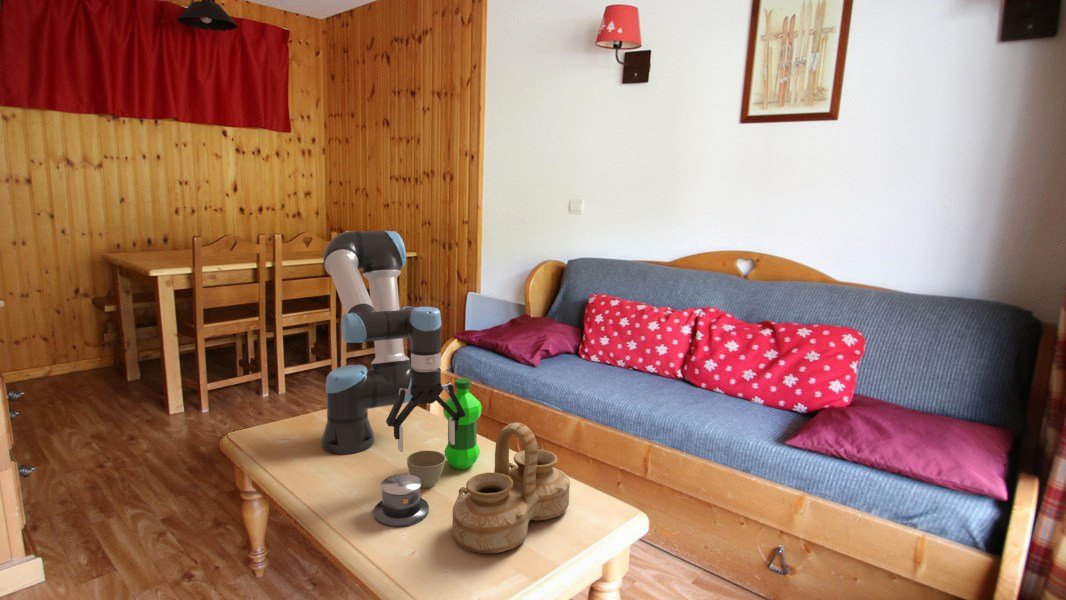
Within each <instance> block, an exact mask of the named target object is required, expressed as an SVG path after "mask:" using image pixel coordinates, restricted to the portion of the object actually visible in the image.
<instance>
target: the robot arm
mask: <svg viewBox="0 0 1066 600" xmlns="http://www.w3.org/2000/svg"><path fill="white" fill-rule="evenodd" d="M406 251H407V250H406V246H405V244H404V240H403V238H402V237H401V236H400V234H399V233H398V232H397V231H395V230H394V231H393V230H389V231H388V230H383V229H382V230H361V231H360V230H359V231H357V230H349V231H344V232H341V233H340V234H338V235H336V236H335V237H334V238H332V239H331V240H330V241H329V243H327V244H326V247H325V249H324V252H323V256H322V257H323V258H322V262H323V265H324V266H323V267H324V268H325V271H326V273H327V274H328V275H330V276H331V279H332V280H333V283H334V287H335V289H336V292H337V295H338V297H339V300H340V302H341V303H340V304H341V305H342V308H343V312H344V314H343V315H342V316H341V320H340V330H341V334H342V335H341V336H342V339H343V341H344V342H345V343H348V344H349V343H359V344H361V343H362V344H363V343H366V342H367V343H368V342H369V343H370V342H373V343H374V353H375V355H374V356H375V357H374V359H373V360H372V361H371V363H370V365H371V366H370V367H371V368H370V369H368V368H367V367H366V366H365V365H362V364H348V365H344V366H339V367H337V368H335V369H333V370H331V371H330V372H329V373H328V374H327V376H326V379H325V394H326V395H325V397H326V423H325V427H324V430H323V434H322V437H321V448H322V449H323V450H324V451H326V452H328V453H331V454H335V455H336V454H338V455H346V454H348V455H349V454H355V453H356V454H357V453H359V452H363V451H366V450H367V449H369V448H371V447H372V446H373V445H374V443H375V433H374V430H373V427H372V425H371V423H370V420H369V416H368V415H369V414H368V411H369V409H374V408H381V407H383V408H384V407H389V406H392V408H391V410H390V412H389V414H388V416H387V417H386V420H385V422H386V424H387V426H388V427H393V437H394V439H395V440H397V448H398V451H399V453H404V427H403V426H402V425H403V423H404V422H405V421H406V420H407V418H408V417H409V415H410V414H411V413H412V412H413V410H415V408H417V406H418V405H419V404H420V405H427V404H434V403H435V402H437V403H438V404H439V405H440V406H441V407H442V408H444V409H445V410H446V411H447V412H448V413H449V414H450V415H451V416H452V418H449V441H450V443H451V444H452V445H454V444H455V431H458V421H459V420H460V418H461V417H464V416H465V412H464V411H463V409H462V407H461V405H460V403H459V401H458V399H457V397H456V396H455V391H454V386H453V384H452V383H451V382H450V381H448V382H446V383H445V384H442V369H441V368H440V367H441V366H442V359H441V357H442V352H441V351H442V349H441V348H442V344H441V343H442V324H443V323H442V320H441V319H442V318H441V311H440V309H439V308H437V307H432V306H418V307H414V306H404V307H400V297H399V286H398V277H399V276H400V274H401V273H402V268H404V267H405V265H406V263H407V259H406V258H407V253H406ZM359 270H362V275H363V277H364V278H365V279H366V280H367V281H368V286H369V291H368V289H367V288H366V284H365V281H364V279H363V277H362V275H361V272H360V271H359ZM404 339H410V358H409V357H408V356H407V355H405V349H404V341H403V340H404ZM443 391H444V392H445V393H447V395H448V396H449V398H451V400H452V402H453V404H454V405H455V407H456V409H457V411H458V412H456V413H455V412H454V411H453V410H452V409H451V408H450V407H449V406H448V405H447V404H446V403H445V402H446V401H445V400H444V399H442V397H440V395H441V393H442V392H443ZM403 404H406V405H405V406H404V408H403V409H402V410H401V408H402V407H403ZM400 410H401V411H400ZM399 412H400V413H399Z"/></svg>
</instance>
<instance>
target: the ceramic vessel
mask: <svg viewBox="0 0 1066 600" xmlns="http://www.w3.org/2000/svg"><path fill="white" fill-rule="evenodd" d="M513 435H515V436H516V437H518V438H519V439H520V441H521V443H522V444H523V445H522V446H523V450H520V451H519V452H516V453H515V454H514V455H513V461H514V463H515V464H514V463H512V462H510V442H511V437H512V436H513ZM536 438H537V437H536V436H535V434H534V432H533V431H532V430H531V428H529V427H528V426H527V425H526V424H525V423H522V422H511V423H509V424H508V425H506V426H504V427H503V428H502V429H501V430H500V432H499V433H498V435H497V437H496V440H495V441H496V442H495V448H494V471H493V472H483V473H479V474H476V475H474V476H472V477H470V478H469V479H468V481H466V484H465V486H462V487H460V488H459V489H458V496H457V498H456V500H455V502H454V505H453V506H452V522H451V523H452V524H451V525H452V526H451V533H452V537H453V539H454V541H456V542H457V544H458V545H459V546H461V547H462V548H463V549H465V550H468V551H472V552H475V553H479V554H497V553H498V554H499V553H504V552H505V551H508V550H512V549H514V548H516V547H518V546H519V545H521V544H522V543H523V542H524V541H525V540H526V538H527V537H528V532H529V523H530V521H543V520H544V521H545V520H546V521H547V520H549V519H552V518H556V517H558V516H560V515H562V514H563V513H565V511H566V510H567V509H568V507H569V504H570V487H571V481H570V478H569V476H568V475H567V473H564V472H563V471H562V470H561V469H558V468H556V467H555V466H556V465H557V463H558V461H559V460H558V456H557V455H556V454H555V453H554V452H552V451H550V450H546V449H545V450H544V449H539V447H538V442H537V439H536Z"/></svg>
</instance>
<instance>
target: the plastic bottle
mask: <svg viewBox="0 0 1066 600" xmlns="http://www.w3.org/2000/svg"><path fill="white" fill-rule="evenodd" d="M471 383H472V382H471V380H470V379H469V378H465V377H464V378H463V377H461V378H456V379H455V380H454V388H456V392H454V394H455V396H456V397H457V399H458V401H459V403H460V405H461V407H462V409H463V411H464V412H465V416H464V417H461V418H460V420H459V421H458V431H455V444H454V445H452V444H451V443H450V441H449V418H452V416H451V415H450V414H449V413H448V412H447V411H446V410H445V409H444V408H443V407H442V408H443V410H442V411H443V416H444V417H445V418H446V420H447V445H446V447H445V449H444V454H443V455H444V456H445V460H446V461H447V462H448V463H449V464H450V465H451V466H452V467H453V468H454V469H457V470H467V469H469V468H470V467H471V466H473V465H474V464H475V463H476V462H477V460H478V459H479V457H480V453H481V452H480V447H479V445H478V444H477V437H478V436H477V431H478V430H477V424H478V423H477V422H478V419H479V418H480V417H481V415H482V404H481V401H479V400H478V399H477V398H476V397H475V396H474V395H473V394H472V393H471V392H469V391H470V390H469V389H470V388H471V386H472V384H471ZM444 402H445V403H446V404H447V405H448V406H449V407H450V408H451V409H452V410H453V411H454V412H455V413H456V412H458V411H457V409H456V407H455V405H454V404H453V402H452V400H451V398H450V397H449V398H448V399H447V400H446V401H444Z"/></svg>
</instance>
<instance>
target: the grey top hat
mask: <svg viewBox="0 0 1066 600" xmlns="http://www.w3.org/2000/svg"><path fill="white" fill-rule="evenodd" d="M380 488H381V489H380V490H381V500H380V501H378V503H377V504H376V505H375V506H374V508H373V518H374V520H375V521H376V522H377V523H379V524H380V525H382V526H384V527H390V528H405V527H410V526H413V525H416V524H418V523H420V522H422V521H423V520H425V519H426V518H427V516H428V515H429V511H430V509H429V507H430V505H429V503H428V501H426V499H424V498H423V497H421V480H420V479H419V478H418V477H417V476H414V475H410V473H409V474H407V473H399V474H398V473H397V474H393V475H390V476H387V477H386V478H384V479H383V480H382V481H381V484H380Z"/></svg>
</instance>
